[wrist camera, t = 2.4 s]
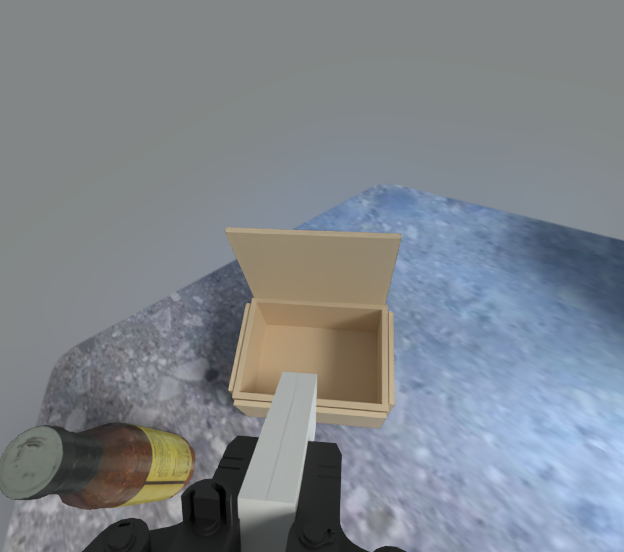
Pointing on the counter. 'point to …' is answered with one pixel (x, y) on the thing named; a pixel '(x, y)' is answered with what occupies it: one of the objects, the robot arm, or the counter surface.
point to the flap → (316, 264)
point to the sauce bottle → (96, 465)
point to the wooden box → (317, 358)
